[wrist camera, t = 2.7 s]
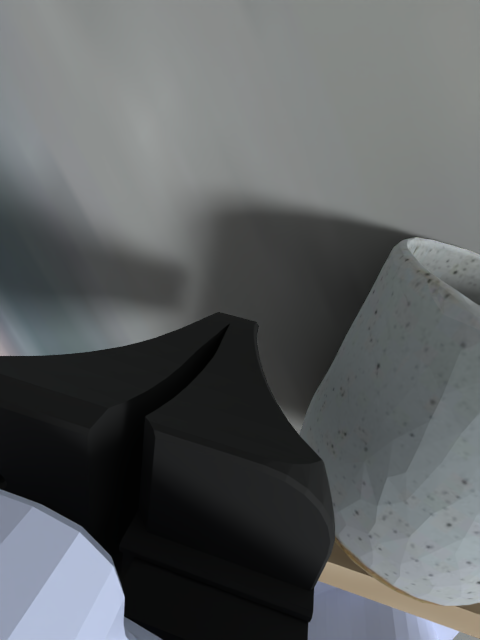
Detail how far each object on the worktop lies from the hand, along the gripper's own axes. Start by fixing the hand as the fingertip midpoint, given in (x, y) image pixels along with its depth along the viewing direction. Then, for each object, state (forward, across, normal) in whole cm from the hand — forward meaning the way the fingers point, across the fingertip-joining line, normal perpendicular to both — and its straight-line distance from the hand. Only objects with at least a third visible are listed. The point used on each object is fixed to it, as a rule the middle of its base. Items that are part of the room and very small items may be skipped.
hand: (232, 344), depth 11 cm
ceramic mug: (+4, -8, 0) cm, 9 cm away
